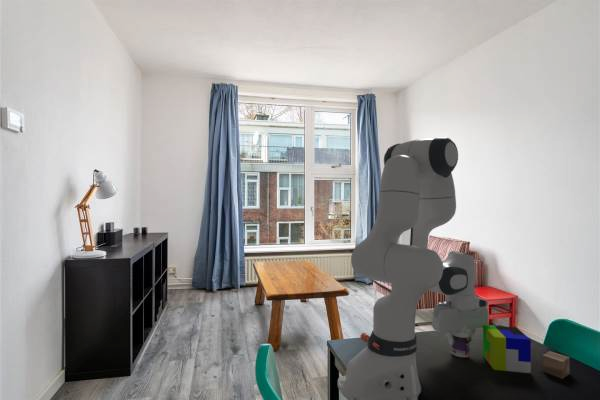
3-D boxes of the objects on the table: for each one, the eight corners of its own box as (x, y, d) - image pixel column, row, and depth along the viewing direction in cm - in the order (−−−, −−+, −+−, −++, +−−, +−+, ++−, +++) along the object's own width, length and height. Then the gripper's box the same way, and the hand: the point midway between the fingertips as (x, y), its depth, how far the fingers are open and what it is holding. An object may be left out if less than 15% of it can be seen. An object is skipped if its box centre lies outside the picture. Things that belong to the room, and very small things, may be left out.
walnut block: (562, 379, 98) (562, 361, 98) (542, 371, 102) (542, 355, 102) (569, 374, 101) (569, 357, 101) (549, 367, 105) (549, 351, 105)
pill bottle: (470, 359, 109) (470, 328, 109) (452, 356, 111) (452, 326, 111) (468, 352, 114) (468, 323, 114) (450, 349, 116) (450, 321, 116)
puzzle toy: (530, 373, 101) (530, 339, 101) (493, 369, 103) (493, 336, 103) (516, 358, 111) (516, 327, 111) (482, 355, 113) (483, 325, 113)
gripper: (441, 305, 107) (441, 350, 106) (492, 301, 113) (491, 342, 113) (428, 300, 113) (427, 342, 112) (477, 296, 119) (476, 335, 119)
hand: (460, 342), depth 113 cm, fingers open, 5 cm apart
